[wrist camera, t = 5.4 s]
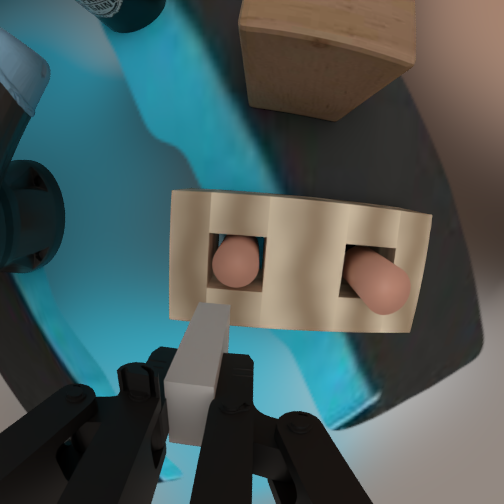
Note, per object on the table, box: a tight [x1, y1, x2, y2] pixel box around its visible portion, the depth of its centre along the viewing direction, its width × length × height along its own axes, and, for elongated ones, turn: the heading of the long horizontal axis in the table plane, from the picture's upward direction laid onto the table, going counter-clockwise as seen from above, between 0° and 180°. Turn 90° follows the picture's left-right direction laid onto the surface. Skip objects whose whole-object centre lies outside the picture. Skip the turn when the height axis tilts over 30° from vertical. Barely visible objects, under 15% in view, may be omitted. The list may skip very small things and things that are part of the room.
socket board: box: [169, 188, 432, 333], centre depth 32 cm, size 24×12×8 cm, turn 86°
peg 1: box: [212, 234, 259, 288], centre depth 32 cm, size 4×4×8 cm
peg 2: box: [342, 245, 411, 315], centre depth 27 cm, size 4×4×8 cm
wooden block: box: [238, 0, 416, 122], centre depth 22 cm, size 10×10×20 cm
